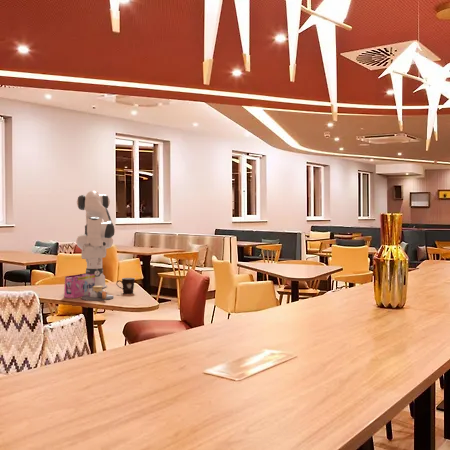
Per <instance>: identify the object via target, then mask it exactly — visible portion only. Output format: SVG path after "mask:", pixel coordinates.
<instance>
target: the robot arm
mask: <svg viewBox="0 0 450 450" xmlns="http://www.w3.org/2000/svg"><path fill="white" fill-rule="evenodd" d="M110 202H111V201H110V198H109V195H107V194H104V193H102V194H100V193H99V192H97V191H96V190H90V191H88V192H87V193H86V194H81V195H79V196H78V197H77V199H76V206H77V207H78V209H79V210H81V211H85V225H84V233H82V234H79V235H78V236H77V238H76V246H77V247H78V248H79V249H80V250H81V254H80V255H81V259H83V260H85V262H86V268H85V273H89V274H95V286H103V287H102V289H103V288H108V285H106V276H105V275H104V268H103V258H106V257H107V249H110V248H111V247H112V246H113V244H114V240H113V237H114V235H115V232H116V231H115V230H116V229H115V225H114V223H113V221H112V219H111V215H110V212H109V210H108V208H109V206H110Z"/></svg>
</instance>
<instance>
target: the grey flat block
mask: <svg viewBox="0 0 450 450" xmlns="http://www.w3.org/2000/svg"><path fill="white" fill-rule="evenodd" d="M107 295H108V291H107V289H103V288H102V291H98V292H96V291H93V289H90V290H89V292H88V296H89V297H95V298H101V299H106V296H107Z"/></svg>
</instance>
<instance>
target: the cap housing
mask: <svg viewBox="0 0 450 450" xmlns="http://www.w3.org/2000/svg"><path fill="white" fill-rule="evenodd" d="M102 287H103V286H93V291H96V292H98V291H102V289H103V288H102ZM80 298H81V300H83V301H90V302H92V301H93V302H99V301H100V302H101V301H109V300H113V299H114V295H111V294H107V296H106V299H101V298H95V297H89V296H88V295H85V296H82V297H80Z"/></svg>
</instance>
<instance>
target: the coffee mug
mask: <svg viewBox="0 0 450 450" xmlns="http://www.w3.org/2000/svg"><path fill="white" fill-rule="evenodd" d="M118 282H121V284H122V286H119V285H118V284H119V283H118ZM116 286H117V287H118V288H119V289H121V290H122V291H123V292H122V293H123V294H124V295H131V294H134V288H135V277H122V278H121V280H117V281H116Z"/></svg>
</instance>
